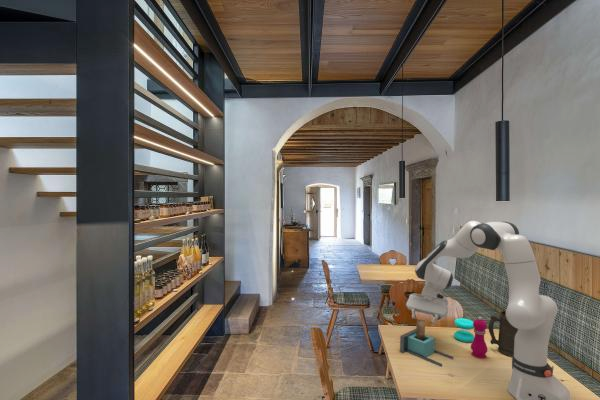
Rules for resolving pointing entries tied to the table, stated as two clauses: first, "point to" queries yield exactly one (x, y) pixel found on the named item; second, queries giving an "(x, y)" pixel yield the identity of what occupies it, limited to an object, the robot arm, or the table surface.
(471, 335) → the donuts
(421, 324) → the dowel
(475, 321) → the pepper mill
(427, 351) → the socket block
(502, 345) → the beer stein
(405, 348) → the track
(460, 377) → the table surface
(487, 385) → the table surface
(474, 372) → the table surface
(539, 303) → the robot arm
